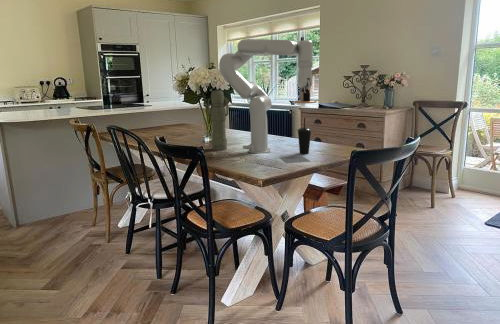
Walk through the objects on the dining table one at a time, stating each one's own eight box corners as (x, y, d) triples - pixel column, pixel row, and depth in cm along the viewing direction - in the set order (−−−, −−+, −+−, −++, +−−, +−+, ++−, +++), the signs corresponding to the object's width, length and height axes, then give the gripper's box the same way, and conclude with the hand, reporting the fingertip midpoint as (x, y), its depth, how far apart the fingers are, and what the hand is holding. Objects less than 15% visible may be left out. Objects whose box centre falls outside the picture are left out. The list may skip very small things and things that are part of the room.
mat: (286, 163, 186) (286, 163, 186) (278, 158, 199) (278, 157, 199) (311, 162, 189) (311, 161, 189) (302, 156, 201) (302, 156, 201)
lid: (298, 103, 195) (298, 92, 194) (290, 102, 206) (290, 91, 205) (320, 102, 197) (320, 91, 196) (311, 101, 209) (311, 90, 207)
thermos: (230, 149, 224) (228, 90, 216) (210, 151, 222) (207, 90, 214) (228, 147, 233) (226, 89, 225) (209, 148, 230) (206, 90, 222)
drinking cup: (303, 152, 213) (303, 116, 209) (314, 153, 208) (314, 117, 203) (294, 154, 209) (294, 117, 204) (304, 156, 203) (305, 119, 198)
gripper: (293, 65, 205) (293, 99, 209) (304, 64, 189) (303, 101, 193) (306, 65, 206) (306, 99, 210) (318, 64, 190) (317, 101, 194)
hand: (305, 100), depth 201 cm, fingers closed on lid, 4 cm apart
